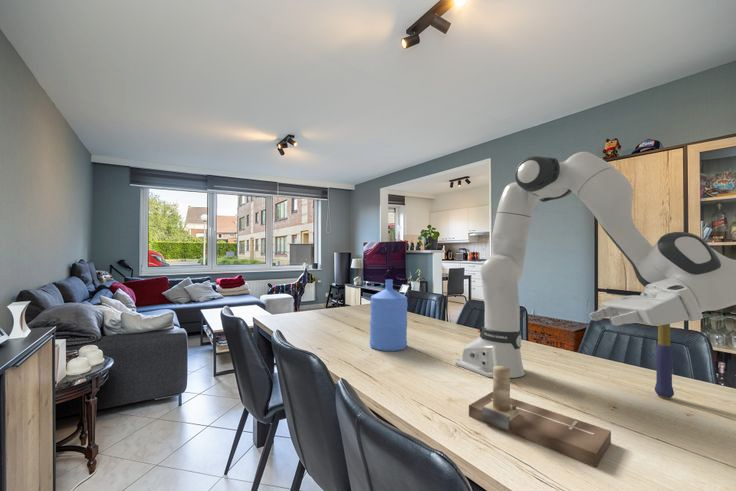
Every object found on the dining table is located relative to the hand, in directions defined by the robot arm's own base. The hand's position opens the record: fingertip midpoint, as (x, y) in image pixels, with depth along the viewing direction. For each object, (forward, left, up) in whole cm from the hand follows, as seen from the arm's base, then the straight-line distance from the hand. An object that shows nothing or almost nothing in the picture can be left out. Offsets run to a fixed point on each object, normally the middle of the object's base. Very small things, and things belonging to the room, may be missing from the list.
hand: (601, 319), depth 75 cm
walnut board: (-10, -10, -25) cm, 29 cm away
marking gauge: (-16, -15, -24) cm, 32 cm away
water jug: (-77, +13, -25) cm, 82 cm away
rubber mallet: (+8, +35, -25) cm, 43 cm away
